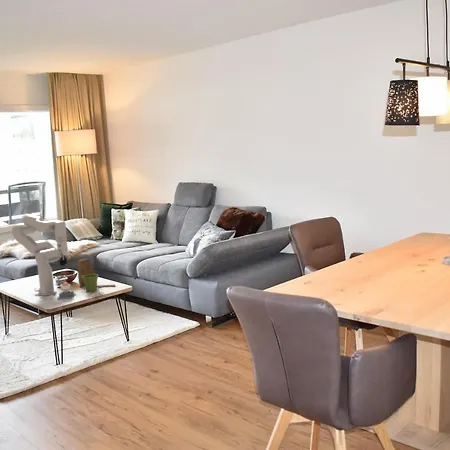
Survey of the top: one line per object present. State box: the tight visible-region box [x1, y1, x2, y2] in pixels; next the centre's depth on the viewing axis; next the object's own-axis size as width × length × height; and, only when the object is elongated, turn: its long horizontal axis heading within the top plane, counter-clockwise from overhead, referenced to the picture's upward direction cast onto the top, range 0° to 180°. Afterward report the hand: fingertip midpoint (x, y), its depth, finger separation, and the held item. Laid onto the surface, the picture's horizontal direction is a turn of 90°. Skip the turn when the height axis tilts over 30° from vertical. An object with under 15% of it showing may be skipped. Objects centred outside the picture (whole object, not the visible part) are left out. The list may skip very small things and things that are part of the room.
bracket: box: [97, 284, 116, 288], centre depth 404 cm, size 15×3×1 cm, turn 91°
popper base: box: [57, 289, 76, 300], centre depth 382 cm, size 10×10×4 cm
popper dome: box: [60, 281, 72, 293], centre depth 381 cm, size 6×6×8 cm
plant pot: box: [82, 273, 99, 293], centre depth 394 cm, size 12×12×11 cm
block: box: [77, 258, 95, 287], centre depth 412 cm, size 11×8×20 cm
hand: (63, 264), depth 378 cm, fingers open, 4 cm apart
